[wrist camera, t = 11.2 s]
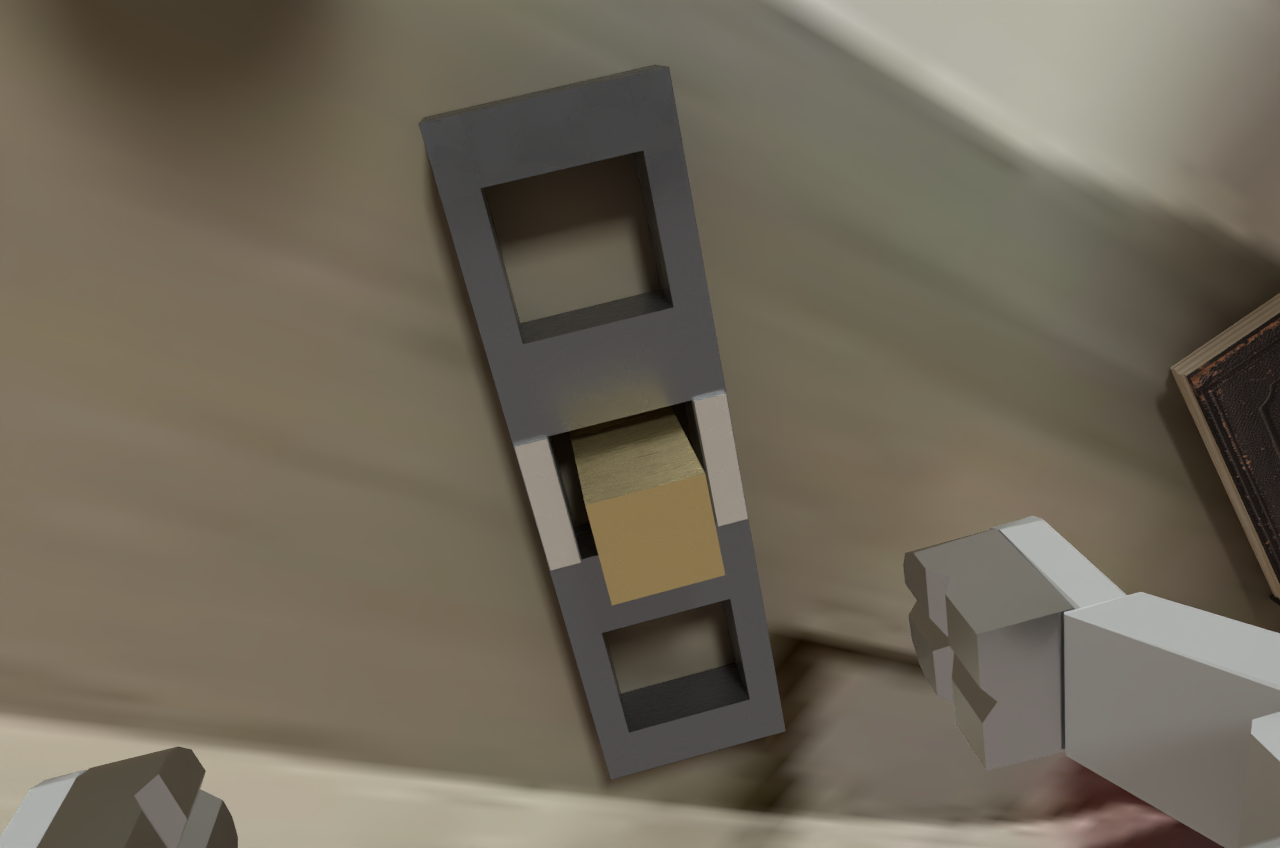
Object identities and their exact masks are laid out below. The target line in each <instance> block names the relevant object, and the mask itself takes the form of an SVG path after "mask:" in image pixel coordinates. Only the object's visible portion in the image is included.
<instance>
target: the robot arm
mask: <svg viewBox="0 0 1280 848" xmlns="http://www.w3.org/2000/svg"><path fill="white" fill-rule="evenodd" d="M903 566H904V576H905V584H906V585H907V587H908V588H909V590H910V591H911V592H912V594H913V595H914V597H915V598H916V600H917V602H916V603H915V605H914V607H913V608H912V610H911V612H910V613H909V622H910V629H911V636H912V641H913V644H914V647H915V651H916V654H917V657H918V661H919V663H920V666H921V668H922V670H923V672H924V674H925V676H926V678H927V680H928V682H929V683H930V685H931V686H932V688H933V690H934V691H935V693H936V695H937V696H939V697H941V698H943V699H945V700H947V701H949V702H952V703H954V708H955V719H956V726H957V727H958V729H959V730H960V732H961V733H962V735H963V736H964V738H965V739H966V741H967V742H968V744H969V745H970V747H971V748H972V750H973V751H974V753H975V755H976V756H977V758H978V759H979V761H980V762H981V764H982V765H983V767H984V768H985V770H986V771H987V770H991V769H995V768H999V767H1003V766H1007V765H1011V764H1016V763H1020V762H1024V761H1028V760H1032V759H1036V758H1040V757H1044V756H1048V755H1052V754H1056V753H1060V752H1064V751H1065V755H1066V756H1068V757H1069V758H1071V759H1073V760H1074V761H1076V762H1078V763H1080V764H1081V765H1083V766H1085V767H1086V768H1088V769H1090V770H1092V771H1093V772H1095V773H1097V774H1099V775H1100V776H1102V777H1104V778H1105V779H1107V780H1109V781H1111V782H1112V783H1114V784H1116V785H1118V786H1119V787H1121V788H1123V789H1124V790H1126V791H1128V792H1130V793H1131V794H1133V795H1135V796H1137V797H1138V798H1140V799H1142V800H1143V801H1145V802H1147V803H1149V804H1150V805H1152V806H1154V807H1155V808H1157V809H1159V810H1161V811H1162V812H1164V813H1166V814H1168V815H1169V816H1171V817H1173V818H1174V819H1176V820H1178V821H1180V822H1181V823H1183V824H1185V825H1187V826H1188V827H1190V828H1192V829H1193V830H1195V831H1197V832H1199V833H1200V834H1202V835H1204V836H1206V837H1207V838H1209V839H1211V840H1212V841H1214V842H1216V843H1218V844H1219V845H1221V846H1223V847H1224V848H1280V633H1277V632H1273V631H1270V630H1266V629H1263V628H1260V627H1256V626H1253V625H1250V624H1246V623H1243V622H1240V621H1236V620H1233V619H1230V618H1226V617H1223V616H1220V615H1216V614H1213V613H1210V612H1206V611H1203V610H1200V609H1196V608H1193V607H1190V606H1186V605H1183V604H1180V603H1176V602H1173V601H1170V600H1166V599H1163V598H1159V597H1156V596H1153V595H1149V594H1146V593H1143V592H1139V593H1135V594H1131V595H1126V594H1125V593H1124V592H1123V591H1122V590H1121V589H1120V588H1119V587H1118V586H1116V585H1115V584H1114V583H1113V582H1112V581H1111V580H1110V579H1109V578H1108V577H1106V576H1105V575H1104V574H1103V573H1102V572H1101V571H1100V570H1099V569H1098V568H1096V567H1095V566H1094V565H1093V564H1092V563H1091V562H1090V561H1089V560H1088V559H1086V558H1085V557H1084V556H1083V555H1082V554H1081V553H1080V552H1079V551H1078V550H1076V549H1075V548H1074V547H1073V546H1072V545H1071V544H1070V543H1069V542H1068V541H1066V540H1065V539H1064V538H1063V537H1062V536H1061V535H1060V534H1059V533H1058V532H1056V531H1055V530H1054V529H1053V528H1052V527H1051V526H1050V525H1049V524H1048V523H1046V522H1045V521H1044V520H1043V519H1042V518H1039V517H1035V516H1030V517H1026V518H1023V519H1020V520H1016V521H1013V522H1010V523H1006V524H1003V525H1000V526H996V527H993V528H990V530H988V531H984V532H981V533H977V534H973V535H969V536H966V537H962V538H958V539H955V540H951V541H947V542H944V543H940V544H936V545H933V546H929V547H925V548H922V549H918V550H914V551H911V552H907V553H905V558H904V564H903ZM205 772H206V771H205V769H204V768H203V766H202V765H201V763H200V762H199V760H198V759H197V757H196V756H195V754H194V753H193V751H192V750H191V749H186V748H182V747H175V748H171V749H166V750H162V751H158V752H154V753H150V754H146V755H142V756H138V757H134V758H130V759H126V760H121V761H117V762H113V763H109V764H105V765H101V766H97V767H93V768H90V769H88V770H83V771H78V772H74V773H70V774H67V775H63V776H59V777H55V778H51V779H47V780H44V781H43V782H41V783H39V784H38V785H36V786H35V787H33V788H31V789H30V790H29V792H28V793H27V795H26V797H25V798H24V800H23V801H22V803H21V804H20V806H19V808H18V809H17V811H16V812H15V814H14V816H13V817H12V819H11V820H10V822H9V824H8V825H7V827H6V828H5V830H4V832H3V833H2V835H1V836H0V848H238V836H237V833H236V829H235V826H234V822H233V818H232V816H231V814H230V812H229V810H228V809H227V807H226V805H225V803H224V802H223V800H221V799H219V798H217V797H215V796H213V795H211V794H209V793H207V792H205V791H203V790H201V789H200V788H201V785H202V782H203V778H204V775H205Z"/></svg>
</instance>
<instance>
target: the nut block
mask: <svg viewBox="0 0 1280 848" xmlns="http://www.w3.org/2000/svg"><path fill="white" fill-rule="evenodd" d="M569 432H570V437H571V442H572V446H573V451H574V456H575V460H576V465H577V469H578V474H579V479H580V483H581V488H582V493H583V497H584V502H585V506H586V510H587V514H588V518H589V521H590V525H591V529H592V533H593V536H594V540H595V544H596V548H597V551H598V555H599V559H600V563H601V566H602V570H603V574H604V578H605V581H606V585H607V589H608V593H609V597H610V600H611V604H612V605H616V604H620V603H623V602H627V601H631V600H634V599H638V598H642V597H646V596H649V595H653V594H657V593H661V592H664V591H668V590H672V589H675V588H679V587H683V586H687V585H690V584H694V583H698V582H702V581H705V580H709V579H713V578H716V577H720V576H724V575H725V571H724V566H723V561H722V556H721V551H720V546H719V541H718V536H717V531H716V526H715V521H714V515H713V510H712V505H711V500H710V495H709V490H708V485H707V480H706V475H705V472H704V470H703V468H702V466H701V465H700V463H699V461H698V459H697V457H696V455H695V453H694V451H693V449H692V447H691V445H690V443H689V441H688V439H687V437H686V435H685V433H684V431H683V429H682V427H681V425H680V423H679V421H678V419H677V417H676V416H675V414H674V412H673V410H672V408H671V406H667V407H663V408H659V409H655V410H651V411H647V412H643V413H639V414H635V415H631V416H627V417H623V418H619V419H615V420H611V421H607V422H603V423H599V424H595V425H591V426H587V427H583V428H579V429H575V430H571V431H569Z"/></svg>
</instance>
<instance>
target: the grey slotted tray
mask: <svg viewBox="0 0 1280 848" xmlns="http://www.w3.org/2000/svg"><path fill="white" fill-rule="evenodd" d="M419 126H420V130H421V133H422V137H423V140H424V143H425V147H426V150H427V154H428V157H429V161H430V164H431V167H432V171H433V174H434V178H435V181H436V184H437V188H438V191H439V195H440V198H441V201H442V205H443V208H444V212H445V215H446V219H447V222H448V225H449V229H450V232H451V236H452V239H453V242H454V246H455V249H456V253H457V256H458V259H459V263H460V266H461V270H462V273H463V277H464V280H465V283H466V287H467V290H468V294H469V297H470V300H471V304H472V307H473V311H474V314H475V318H476V321H477V324H478V328H479V331H480V335H481V338H482V341H483V345H484V348H485V352H486V355H487V358H488V362H489V365H490V369H491V372H492V376H493V379H494V382H495V386H496V389H497V393H498V396H499V399H500V403H501V406H502V410H503V413H504V416H505V420H506V423H507V427H508V430H509V434H510V437H511V440H512V444H513V447H514V451H515V454H516V457H517V461H518V464H519V468H520V471H521V475H522V478H523V481H524V485H525V488H526V492H527V495H528V498H529V502H530V505H531V509H532V512H533V515H534V519H535V522H536V526H537V529H538V533H539V536H540V539H541V543H542V546H543V550H544V553H545V556H546V560H547V563H548V567H549V570H550V573H551V577H552V580H553V584H554V587H555V591H556V594H557V597H558V601H559V604H560V608H561V611H562V614H563V618H564V621H565V625H566V628H567V632H568V635H569V638H570V642H571V645H572V649H573V652H574V655H575V659H576V662H577V666H578V669H579V672H580V676H581V679H582V683H583V686H584V690H585V693H586V696H587V700H588V703H589V707H590V710H591V713H592V717H593V720H594V724H595V727H596V730H597V734H598V737H599V741H600V744H601V748H602V751H603V754H604V758H605V761H606V765H607V768H608V771H609V775H610V778H611V780H612V779H615V778H619V777H622V776H626V775H630V774H633V773H637V772H640V771H644V770H648V769H651V768H655V767H658V766H662V765H665V764H669V763H673V762H676V761H680V760H683V759H687V758H691V757H694V756H698V755H701V754H705V753H709V752H712V751H716V750H719V749H723V748H727V747H730V746H734V745H737V744H741V743H745V742H748V741H752V740H755V739H759V738H763V737H766V736H770V735H773V734H777V733H781V732H784V731H785V725H784V720H783V714H782V708H781V702H780V697H779V691H778V685H777V680H776V674H775V668H774V663H773V657H772V651H771V646H770V640H769V634H768V628H767V623H766V617H765V611H764V606H763V600H762V594H761V589H760V583H759V577H758V571H757V566H756V560H755V554H754V549H753V543H752V537H751V532H750V526H749V520H748V514H747V509H746V503H745V497H744V492H743V486H742V480H741V475H740V469H739V463H738V457H737V452H736V446H735V440H734V435H733V429H732V423H731V418H730V412H729V406H728V400H727V395H726V389H725V383H724V378H723V372H722V366H721V361H720V355H719V349H718V344H717V338H716V332H715V326H714V321H713V315H712V309H711V304H710V298H709V292H708V287H707V281H706V275H705V269H704V264H703V258H702V252H701V247H700V241H699V235H698V230H697V224H696V218H695V212H694V207H693V201H692V195H691V190H690V184H689V178H688V173H687V167H686V161H685V155H684V150H683V144H682V138H681V133H680V127H679V121H678V116H677V110H676V104H675V98H674V93H673V87H672V81H671V76H670V70H669V67H667V66H660V65H653V66H648V67H644V68H639V69H635V70H631V71H626V72H622V73H617V74H613V75H609V76H604V77H600V78H595V79H591V80H587V81H582V82H578V83H573V84H569V85H565V86H560V87H556V88H552V89H547V90H543V91H538V92H534V93H530V94H525V95H521V96H516V97H512V98H508V99H503V100H499V101H494V102H490V103H486V104H481V105H477V106H472V107H468V108H464V109H459V110H455V111H450V112H446V113H442V114H437V115H433V116H429V117H424V118H423V119H422V120H421V122H420V123H419ZM630 153H634V156H635V161H636V166H637V171H638V176H639V181H640V186H641V191H642V196H643V201H644V206H645V211H646V216H647V221H648V226H649V231H650V236H651V241H652V246H653V251H654V256H655V261H656V266H657V271H658V277H659V282H660V287H661V290H657V291H652V292H648V293H644V294H640V295H636V296H632V297H628V298H624V299H620V300H616V301H611V302H607V303H603V304H599V305H595V306H591V307H587V308H583V309H579V310H574V311H570V312H566V313H562V314H558V315H554V316H550V317H546V318H542V319H538V320H533V321H529V322H525V323H521V324H520V321H519V317H518V313H517V309H516V306H515V302H514V298H513V295H512V291H511V287H510V284H509V280H508V276H507V273H506V269H505V265H504V262H503V258H502V254H501V251H500V247H499V243H498V240H497V236H496V232H495V228H494V225H493V221H492V217H491V214H490V210H489V206H488V203H487V199H486V195H485V192H484V187H489V186H493V185H497V184H501V183H506V182H510V181H514V180H519V179H523V178H527V177H531V176H536V175H540V174H544V173H549V172H553V171H557V170H561V169H566V168H570V167H574V166H579V165H583V164H587V163H591V162H596V161H600V160H604V159H608V158H613V157H617V156H621V155H626V154H630ZM682 402H683V403H684V408H685V413H686V418H687V423H688V428H689V433H690V438H691V443H692V448H693V451H694V453H695V455H696V457H697V459H698V461H699V463H700V465H701V466H702V468H703V470H704V472H705V475H706V480H707V485H708V490H709V495H710V500H711V505H712V510H713V515H714V521H715V526H716V531H717V536H718V541H719V546H720V551H721V556H722V561H723V566H724V571H725V575H724V576H720V577H716V578H713V579H709V580H705V581H702V582H698V583H694V584H690V585H687V586H683V587H679V588H675V589H672V590H668V591H664V592H661V593H657V594H653V595H649V596H646V597H642V598H638V599H634V600H631V601H627V602H623V603H620V604H616V605H612V604H611V600H610V597H609V593H608V589H607V585H606V581H605V578H604V574H603V570H602V566H601V563H600V559H599V555H598V551H597V548H596V544H595V540H594V536H593V533H592V529H591V525H590V524H588V525H584V526H580V527H575V523H574V519H573V516H572V512H571V508H570V505H569V501H568V497H567V494H566V490H565V486H564V483H563V479H562V475H561V471H560V468H559V464H558V460H557V457H556V453H555V449H554V446H553V442H552V438H551V436H552V435H556V434H560V433H564V432H567V431H571V430H575V429H579V428H583V427H587V426H591V425H595V424H599V423H603V422H607V421H611V420H615V419H619V418H623V417H627V416H631V415H635V414H639V413H643V412H647V411H651V410H655V409H659V408H663V407H667V406H671V405H675V404H678V403H682ZM720 601H723V604H724V609H725V614H726V619H727V624H728V629H729V634H730V639H731V644H732V649H733V655H734V660H735V663H733V664H730V665H726V666H722V667H719V668H715V669H711V670H708V671H704V672H700V673H697V674H693V675H689V676H686V677H682V678H678V679H674V680H671V681H667V682H663V683H660V684H656V685H652V686H649V687H645V688H641V689H638V690H634V691H630V692H627V693H623V694H621V692H620V689H619V685H618V681H617V678H616V674H615V670H614V667H613V663H612V659H611V656H610V652H609V648H608V644H607V641H606V637H605V633H604V632H608V631H611V630H615V629H619V628H623V627H626V626H630V625H634V624H638V623H641V622H645V621H649V620H653V619H656V618H660V617H664V616H668V615H671V614H675V613H679V612H683V611H686V610H690V609H694V608H698V607H701V606H705V605H709V604H712V603H716V602H720Z"/></svg>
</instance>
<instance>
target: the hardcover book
mask: <svg viewBox="0 0 1280 848" xmlns="http://www.w3.org/2000/svg"><path fill="white" fill-rule="evenodd" d="M1170 369H1171V371H1172V374H1173V376H1174V378H1175V380H1176V382H1177V385H1178V387H1179V389H1180V391H1181V393H1182V396H1183V398H1184V400H1185V402H1186V404H1187V407H1188V409H1189V411H1190V413H1191V415H1192V418H1193V420H1194V422H1195V424H1196V426H1197V428H1198V431H1199V433H1200V435H1201V437H1202V439H1203V442H1204V444H1205V446H1206V448H1207V450H1208V453H1209V455H1210V457H1211V459H1212V461H1213V464H1214V466H1215V468H1216V470H1217V472H1218V475H1219V477H1220V479H1221V481H1222V483H1223V486H1224V488H1225V490H1226V492H1227V494H1228V496H1229V499H1230V501H1231V503H1232V505H1233V507H1234V510H1235V512H1236V514H1237V516H1238V518H1239V521H1240V523H1241V525H1242V527H1243V529H1244V532H1245V534H1246V536H1247V538H1248V540H1249V543H1250V545H1251V547H1252V549H1253V551H1254V553H1255V556H1256V558H1257V560H1258V562H1259V564H1260V567H1261V569H1262V571H1263V573H1264V575H1265V578H1266V580H1267V582H1268V584H1269V586H1270V589H1271V591H1272V593H1273V594H1272V595H1270V596H1269V598H1270V599H1271V600H1273V601H1274V602H1275V603H1277V604H1278V605H1279V606H1280V293H1279V294H1277V295H1276V296H1275V297H1273V298H1272V299H1270V300H1269V301H1267V302H1266V303H1264V304H1263V305H1261V306H1260V307H1258V308H1257V309H1255V310H1254V311H1253V312H1251V313H1250V314H1248V315H1247V316H1245V317H1244V318H1242V319H1241V320H1239V321H1238V322H1236V323H1235V324H1233V325H1232V326H1231V327H1229V328H1228V329H1226V330H1225V331H1223V332H1222V333H1220V334H1219V335H1217V336H1216V337H1214V338H1213V339H1211V340H1210V341H1209V342H1207V343H1206V344H1204V345H1203V346H1201V347H1200V348H1198V349H1197V350H1195V351H1194V352H1192V353H1191V354H1189V355H1188V356H1187V357H1185V358H1184V359H1182V360H1181V361H1179V362H1178V363H1176V364H1175V365H1173V366H1172V367H1170Z"/></svg>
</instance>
